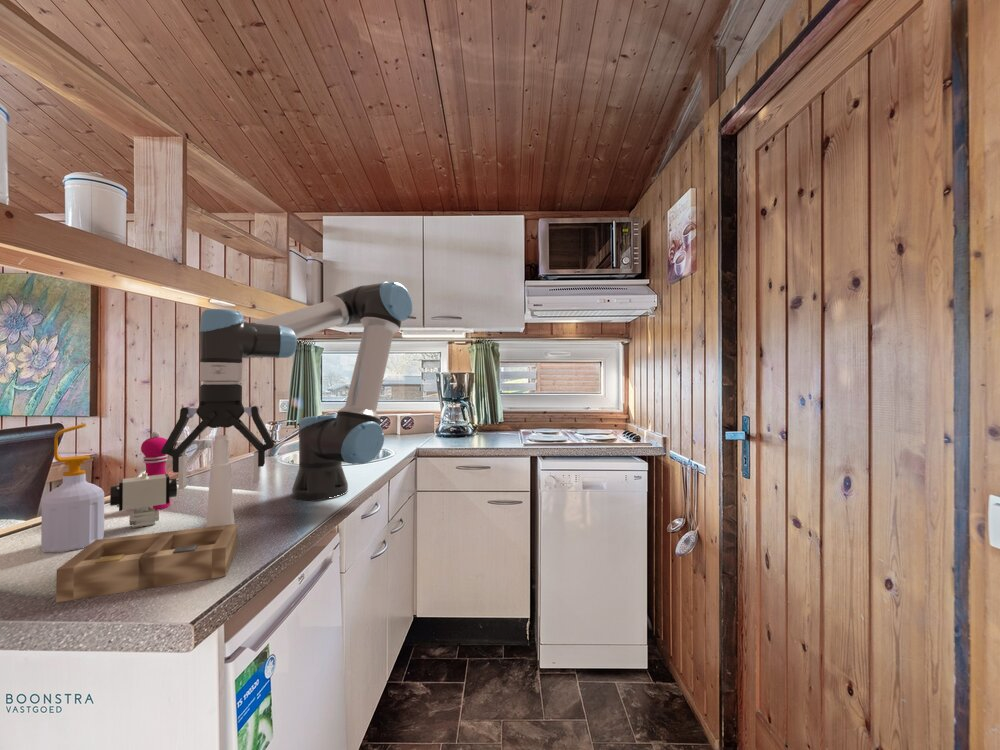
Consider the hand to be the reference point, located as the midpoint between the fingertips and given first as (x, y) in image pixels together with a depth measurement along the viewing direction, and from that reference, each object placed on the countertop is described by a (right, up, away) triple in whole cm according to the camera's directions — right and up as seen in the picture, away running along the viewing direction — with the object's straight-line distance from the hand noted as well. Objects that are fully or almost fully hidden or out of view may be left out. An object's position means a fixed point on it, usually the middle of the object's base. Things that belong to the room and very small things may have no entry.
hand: (220, 485), depth 91 cm
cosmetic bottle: (0, -12, 0) cm, 12 cm away
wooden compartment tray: (-1, -12, -15) cm, 19 cm away
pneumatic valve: (-24, -12, +9) cm, 28 cm away
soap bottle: (-28, -12, -3) cm, 31 cm away
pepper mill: (-32, -12, +22) cm, 40 cm away
